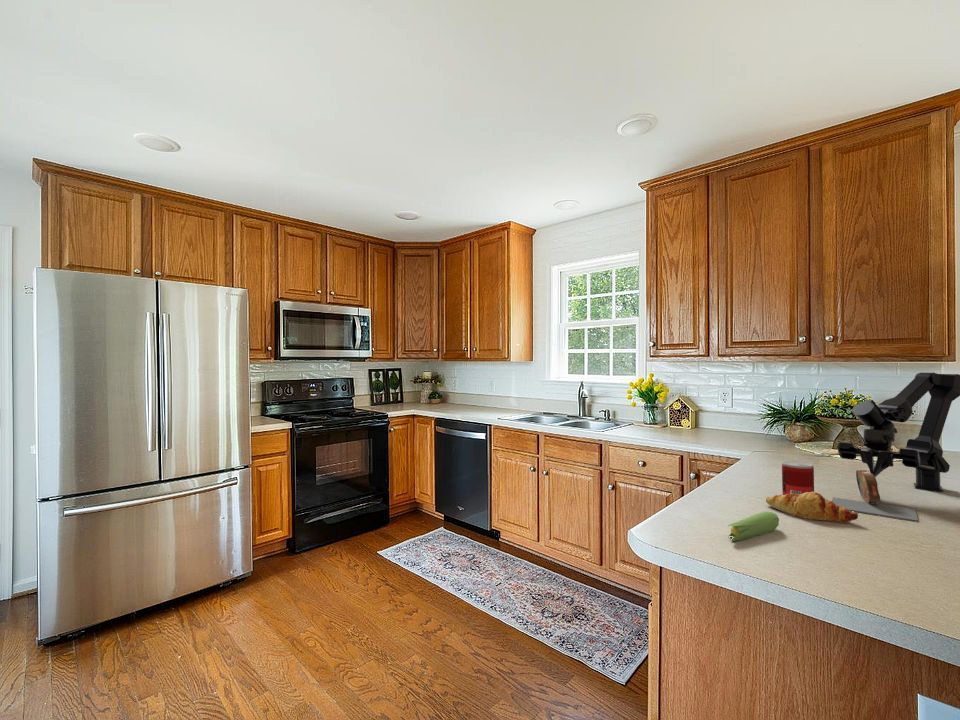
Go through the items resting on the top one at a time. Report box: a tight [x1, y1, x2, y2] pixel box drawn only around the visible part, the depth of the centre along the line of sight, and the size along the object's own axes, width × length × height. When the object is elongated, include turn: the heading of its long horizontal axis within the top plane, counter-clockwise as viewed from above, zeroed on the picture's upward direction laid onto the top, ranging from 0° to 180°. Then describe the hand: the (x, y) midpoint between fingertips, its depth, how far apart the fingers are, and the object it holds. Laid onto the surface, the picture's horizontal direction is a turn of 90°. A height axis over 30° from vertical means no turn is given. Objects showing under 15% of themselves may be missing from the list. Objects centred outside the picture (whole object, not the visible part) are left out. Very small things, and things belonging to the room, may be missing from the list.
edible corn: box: [727, 511, 780, 542], centre depth 110 cm, size 5×20×5 cm
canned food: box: [781, 460, 815, 495], centre depth 137 cm, size 8×8×11 cm
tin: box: [855, 469, 881, 504], centre depth 134 cm, size 15×3×8 cm, turn 149°
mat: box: [831, 496, 919, 523], centre depth 127 cm, size 12×18×1 cm, turn 49°
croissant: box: [765, 491, 859, 523], centre depth 123 cm, size 21×10×8 cm, turn 40°
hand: (872, 476), depth 134 cm, fingers closed
